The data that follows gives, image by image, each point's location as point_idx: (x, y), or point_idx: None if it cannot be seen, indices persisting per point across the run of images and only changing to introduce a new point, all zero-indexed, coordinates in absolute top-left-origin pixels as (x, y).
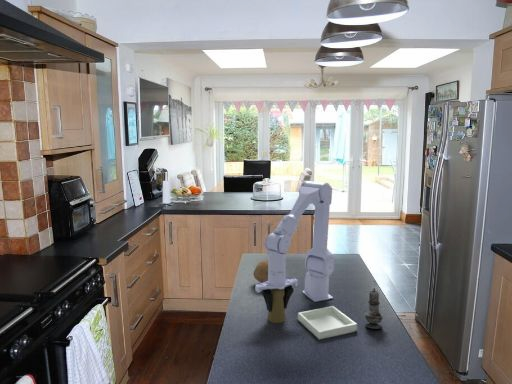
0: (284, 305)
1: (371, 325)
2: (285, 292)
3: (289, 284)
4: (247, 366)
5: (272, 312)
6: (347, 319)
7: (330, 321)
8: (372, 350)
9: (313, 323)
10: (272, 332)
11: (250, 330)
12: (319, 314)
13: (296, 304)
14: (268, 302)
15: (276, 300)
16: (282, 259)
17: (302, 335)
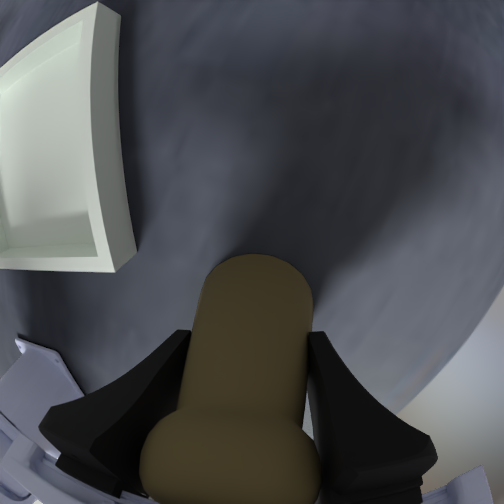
0: (183, 351)
1: None
2: (135, 444)
3: (56, 497)
4: (501, 4)
5: (301, 321)
6: None
7: (18, 174)
8: None
9: (74, 171)
10: (357, 154)
11: (451, 233)
12: (38, 247)
13: (120, 373)
14: (362, 387)
15: (266, 396)
16: None
17: (179, 59)
